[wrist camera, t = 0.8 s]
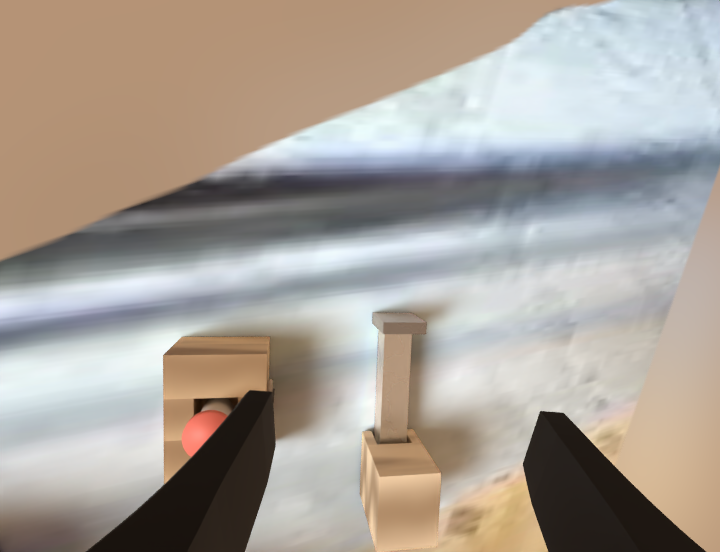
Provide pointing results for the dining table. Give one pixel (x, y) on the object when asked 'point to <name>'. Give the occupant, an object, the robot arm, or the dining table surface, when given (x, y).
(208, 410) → the plunger
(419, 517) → the block
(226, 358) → the wooden box with dial
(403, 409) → the rail
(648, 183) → the dining table surface
